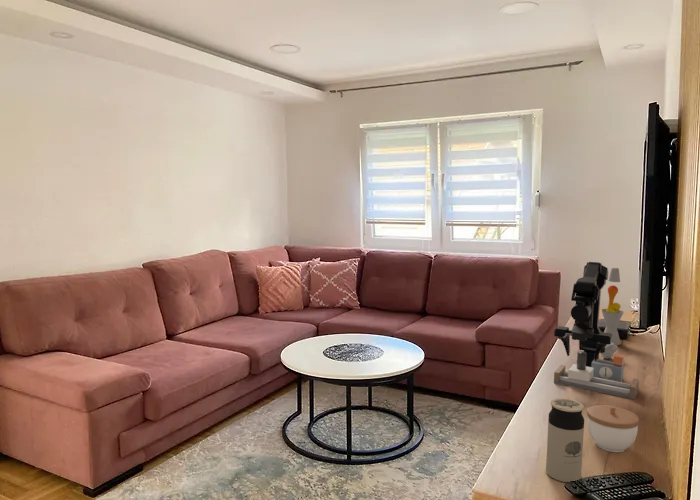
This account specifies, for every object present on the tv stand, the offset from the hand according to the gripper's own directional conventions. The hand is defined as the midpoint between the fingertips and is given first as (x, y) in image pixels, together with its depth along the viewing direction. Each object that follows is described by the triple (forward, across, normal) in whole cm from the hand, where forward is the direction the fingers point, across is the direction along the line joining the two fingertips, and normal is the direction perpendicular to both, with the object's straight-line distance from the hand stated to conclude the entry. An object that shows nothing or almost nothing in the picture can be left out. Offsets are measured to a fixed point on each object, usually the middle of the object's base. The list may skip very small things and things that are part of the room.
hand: (581, 358), depth 189 cm
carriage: (+7, 0, 0) cm, 7 cm away
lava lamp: (+10, 0, +65) cm, 66 cm away
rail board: (+9, +5, 0) cm, 11 cm away
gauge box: (+9, +7, +11) cm, 16 cm away
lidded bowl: (+9, +17, -46) cm, 50 cm away
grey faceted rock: (+10, +3, +38) cm, 39 cm away
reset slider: (+3, +10, +11) cm, 15 cm away
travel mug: (+9, +10, -69) cm, 71 cm away
